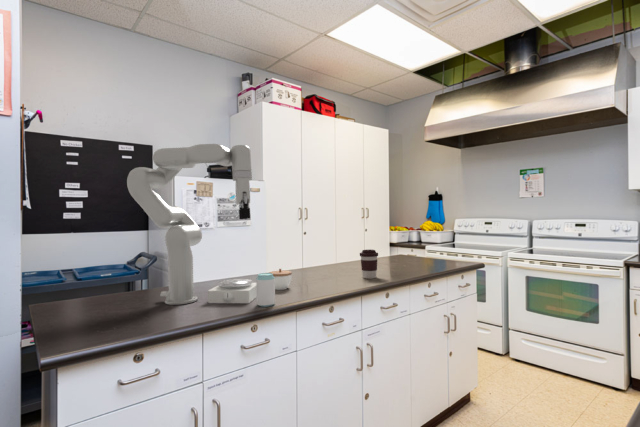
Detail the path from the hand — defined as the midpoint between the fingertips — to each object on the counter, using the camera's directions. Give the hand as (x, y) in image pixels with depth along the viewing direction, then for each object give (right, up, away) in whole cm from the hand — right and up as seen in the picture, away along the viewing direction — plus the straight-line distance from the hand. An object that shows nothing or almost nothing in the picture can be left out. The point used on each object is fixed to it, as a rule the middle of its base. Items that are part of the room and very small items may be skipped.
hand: (244, 218), depth 141 cm
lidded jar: (+11, -34, +26) cm, 44 cm away
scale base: (-5, -34, +8) cm, 35 cm away
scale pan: (-6, -28, +8) cm, 29 cm away
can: (+9, -34, -5) cm, 35 cm away
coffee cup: (+57, -33, +49) cm, 82 cm away
